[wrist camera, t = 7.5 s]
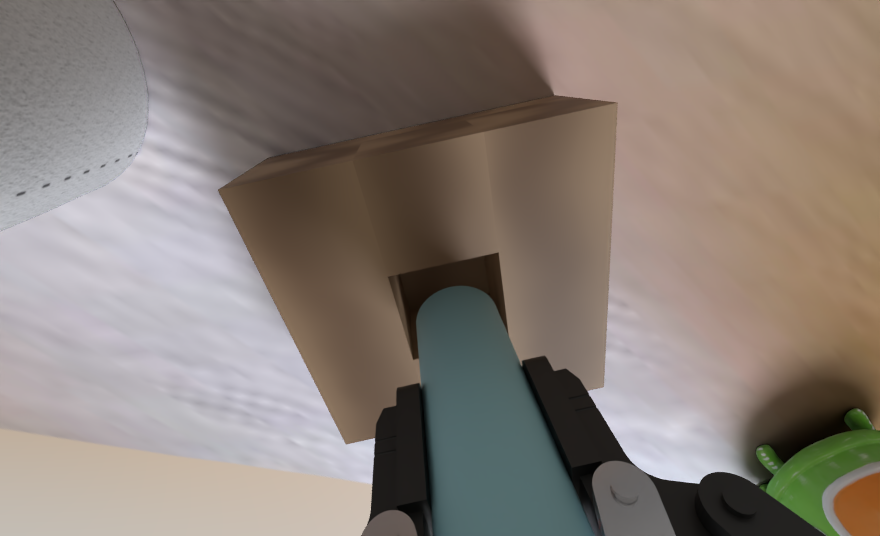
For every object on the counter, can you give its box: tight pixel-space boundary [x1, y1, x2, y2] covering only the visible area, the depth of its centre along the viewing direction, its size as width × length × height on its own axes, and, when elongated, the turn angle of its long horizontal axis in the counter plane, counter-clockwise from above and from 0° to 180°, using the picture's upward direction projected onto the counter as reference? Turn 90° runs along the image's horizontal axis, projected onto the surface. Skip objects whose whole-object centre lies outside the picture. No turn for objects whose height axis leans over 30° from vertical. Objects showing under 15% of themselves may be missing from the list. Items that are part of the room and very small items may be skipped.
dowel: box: [416, 286, 595, 536], centre depth 10 cm, size 3×3×12 cm
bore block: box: [218, 95, 618, 444], centre depth 18 cm, size 14×14×6 cm
